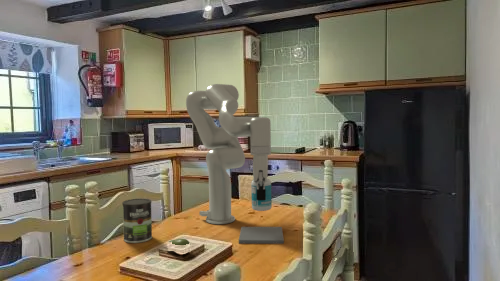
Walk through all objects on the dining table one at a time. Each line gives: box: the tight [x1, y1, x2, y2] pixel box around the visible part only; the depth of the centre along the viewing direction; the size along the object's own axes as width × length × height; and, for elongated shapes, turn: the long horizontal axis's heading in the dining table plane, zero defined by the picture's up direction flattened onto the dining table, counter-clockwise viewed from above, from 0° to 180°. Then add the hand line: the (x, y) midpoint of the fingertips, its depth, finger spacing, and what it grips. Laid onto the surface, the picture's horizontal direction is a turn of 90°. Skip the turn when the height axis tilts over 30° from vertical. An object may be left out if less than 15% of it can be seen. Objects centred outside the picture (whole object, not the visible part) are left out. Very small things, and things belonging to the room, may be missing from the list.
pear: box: [168, 238, 191, 245], centre depth 123 cm, size 6×5×10 cm
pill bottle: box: [250, 178, 273, 212], centre depth 138 cm, size 8×7×14 cm
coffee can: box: [122, 198, 153, 244], centre depth 138 cm, size 10×10×14 cm
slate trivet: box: [238, 226, 285, 245], centre depth 139 cm, size 16×16×1 cm
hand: (261, 197), depth 138 cm, fingers closed on pill bottle, 7 cm apart
